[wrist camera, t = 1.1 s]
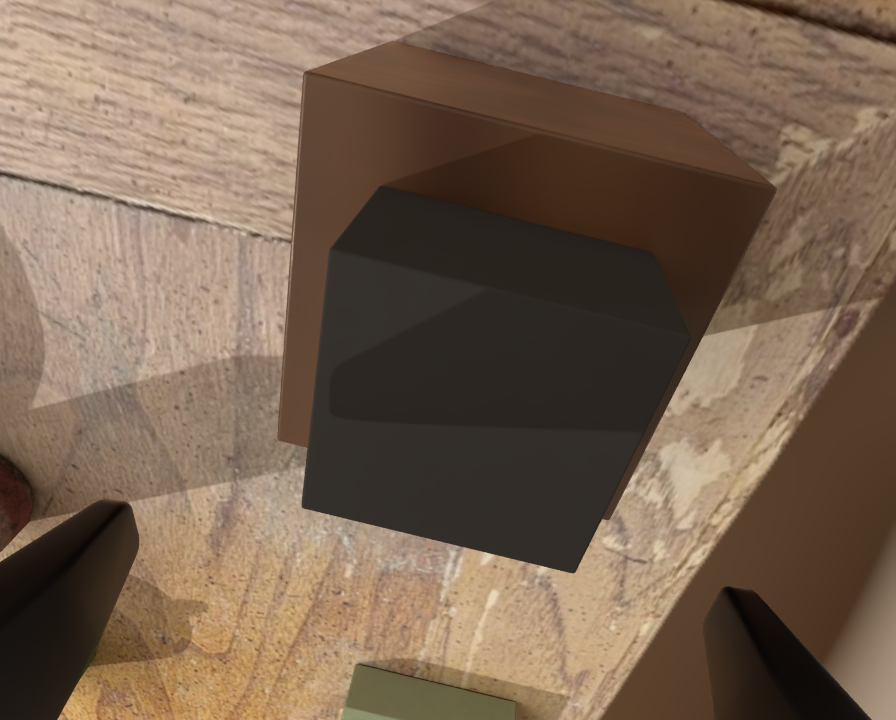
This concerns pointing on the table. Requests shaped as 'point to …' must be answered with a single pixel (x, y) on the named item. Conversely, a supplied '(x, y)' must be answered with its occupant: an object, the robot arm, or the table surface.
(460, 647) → the table surface
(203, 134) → the table surface
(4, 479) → the can
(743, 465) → the table surface
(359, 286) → the black block
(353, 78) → the block
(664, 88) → the table surface
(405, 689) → the green square frame
